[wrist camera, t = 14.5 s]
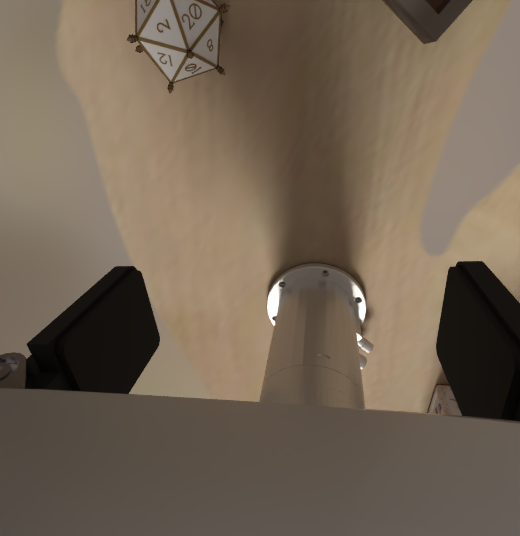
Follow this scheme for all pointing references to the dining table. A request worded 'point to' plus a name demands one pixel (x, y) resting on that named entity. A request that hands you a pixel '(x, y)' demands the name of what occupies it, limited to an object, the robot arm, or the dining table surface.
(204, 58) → the game die
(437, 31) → the tray
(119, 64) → the dining table surface
